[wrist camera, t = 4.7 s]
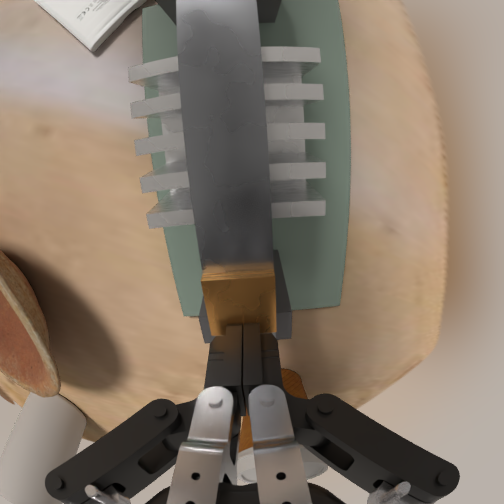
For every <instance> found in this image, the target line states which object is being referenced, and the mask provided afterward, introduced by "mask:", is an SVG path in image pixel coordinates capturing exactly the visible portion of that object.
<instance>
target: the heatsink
mask: <svg viewBox="0 0 504 504" xmlns="http://www.w3.org/2000/svg"><path fill="white" fill-rule="evenodd" d="M261 55H262V67H263V80H264V93H265V107H266V122H267V137H268V154H269V171H270V190H271V211H272V218H287V217H305V216H325V210H326V200H325V199H324V198H323V197H322V196H321V195H320V194H319V193H318V192H317V191H316V190H315V189H314V188H313V187H312V186H311V185H310V184H309V183H308V182H307V181H306V179H312V178H326V162H324V161H323V160H321V159H319V158H317V157H315V156H313V155H311V154H309V153H307V152H305V139H325V123H304V110H303V106H304V105H308V104H311V103H315V102H318V101H322V100H324V94H323V84H302V80H301V78H302V77H303V76H304V75H306V74H307V73H308V72H309V71H311V70H312V69H313V68H315V67H316V66H317V65H318V64H320V63H321V56H320V48H313V47H261ZM128 74H129V82H130V83H134V84H137V85H141V86H144V87H147V88H151V89H154V90H157V91H159V97H155V98H150V99H146V100H142V101H137V102H133V103H130V104H131V115H132V118H161V124H162V133H163V135H159V136H154V137H149V138H144V139H139V140H134V142H135V150H136V156H139V155H144V154H149V153H155V152H161V151H165V158H166V163H165V164H164V165H162V166H160V167H158V168H156V169H155V170H153V171H151V172H149V173H147V174H146V175H144V176H142V177H140V183H141V189H142V193H147V192H154V191H161V190H169V189H170V191H169V192H168V193H167V194H166V195H165V196H164V197H163V198H162V199H161V200H160V201H159V202H158V203H157V204H156V205H155V206H154V207H153V208H152V209H151V210H150V211H149V212H148V213H147V214H146V215H147V220H148V225H149V229H150V228H160V227H170V226H181V225H192V224H195V223H194V216H193V209H192V202H191V194H190V186H189V179H188V170H187V162H186V153H185V143H184V134H183V123H182V112H181V100H180V86H179V70H178V56H176V57H171V58H166V59H161V60H157V61H152V62H148V63H144V64H140V65H137V66H133V67H130V68H128Z"/></svg>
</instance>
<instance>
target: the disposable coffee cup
mask: <svg viewBox="0 0 504 504" xmlns="http://www.w3.org/2000/svg"><path fill="white" fill-rule="evenodd" d="M281 374H282V382H283V386H284V388H285V390H286V391H287V392H288V393H289V394H290V395H292V396H295V397H298V398H303V399H307V396H306V393H305V390H304V387H303V384H302V382H301V378H300V376H299V375H298V374H297V373H295V372H293V371H291V370H288V369H281ZM299 448H300V452H301V456H302V461H303V465H304V470H305V474H306V478H307V480H308V479H311V478H314V477H316V476H319V475H321V474H322V473H324V472H325V471H326V470H327V469H328V465H327V464H326V463H324V462H323V461H322V460H320V459H319V458H318V457H316V456H315V455H314V454H312V453H311V452H310V451H308V450H307V449H306V448H305V447H304V446H303V445H300V444H299ZM237 477H238V479H239V480H242V481H244V482H247V483H251V484H252V483H256V482H257V477H256V469H255V460H254V452H253V439H252V431H251V422H250V416H248V413H247V407H246V416H243V422H242V428H241V435H240V442H239V451H238V461H237Z"/></svg>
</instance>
